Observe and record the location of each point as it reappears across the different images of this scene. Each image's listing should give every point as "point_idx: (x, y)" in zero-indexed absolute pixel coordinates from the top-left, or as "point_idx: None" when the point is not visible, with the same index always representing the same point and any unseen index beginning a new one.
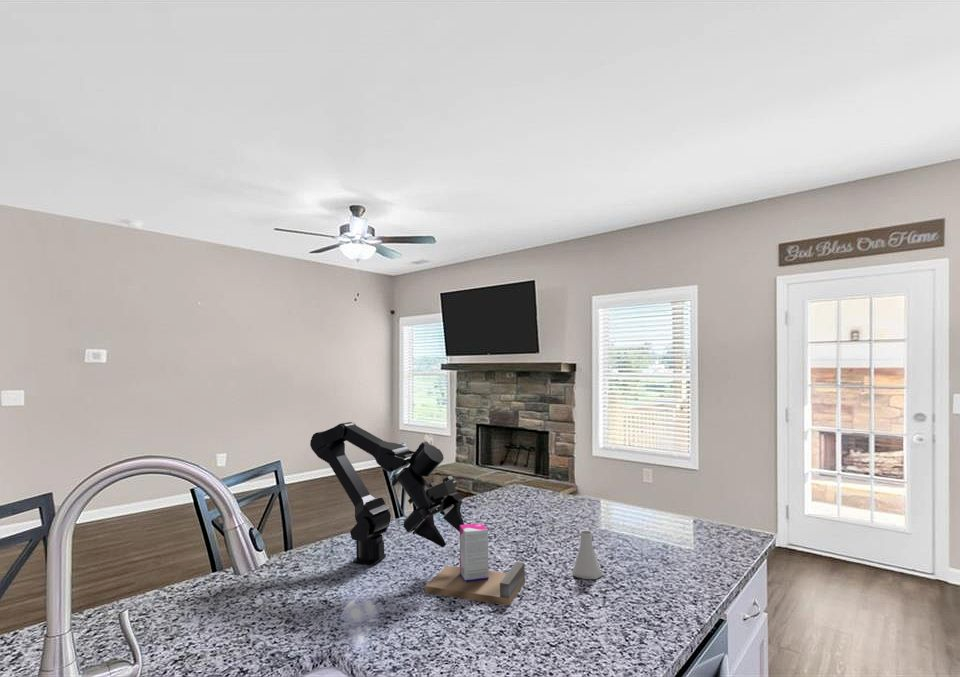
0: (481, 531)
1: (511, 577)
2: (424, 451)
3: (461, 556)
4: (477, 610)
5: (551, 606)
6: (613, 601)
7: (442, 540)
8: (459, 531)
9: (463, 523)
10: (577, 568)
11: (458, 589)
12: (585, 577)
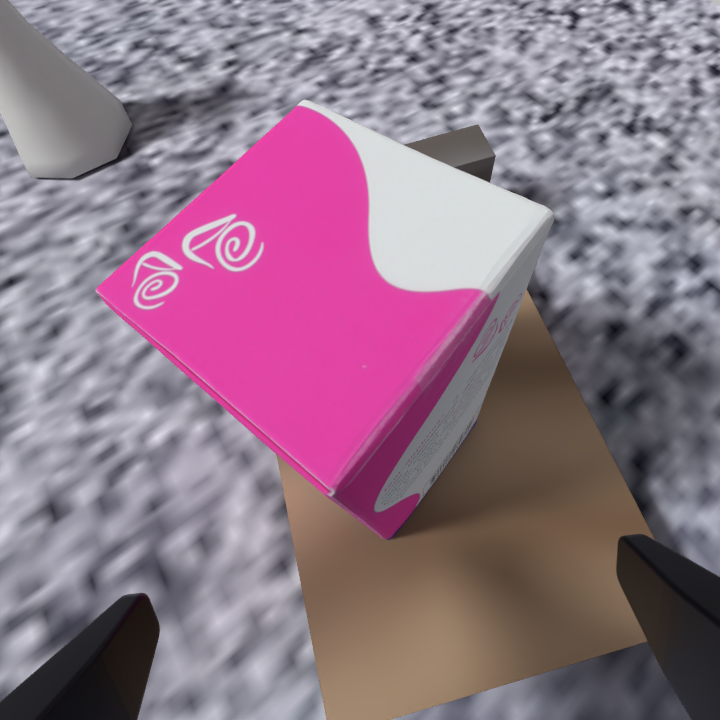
0: (366, 135)
1: None
2: None
3: (433, 463)
4: (586, 265)
5: (376, 109)
6: (247, 24)
7: (700, 569)
8: (133, 718)
9: (12, 700)
10: (96, 122)
11: (563, 400)
12: (126, 117)
